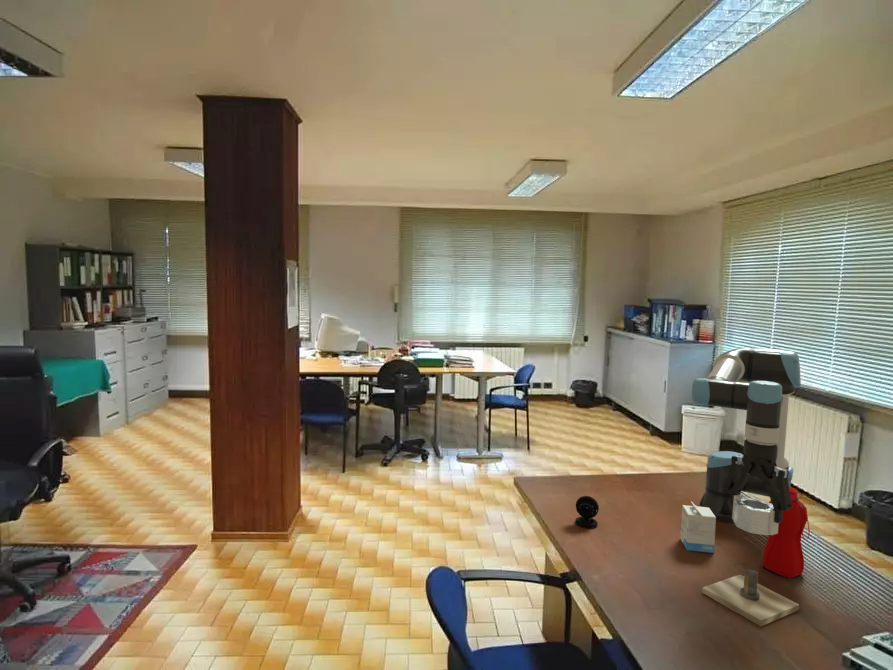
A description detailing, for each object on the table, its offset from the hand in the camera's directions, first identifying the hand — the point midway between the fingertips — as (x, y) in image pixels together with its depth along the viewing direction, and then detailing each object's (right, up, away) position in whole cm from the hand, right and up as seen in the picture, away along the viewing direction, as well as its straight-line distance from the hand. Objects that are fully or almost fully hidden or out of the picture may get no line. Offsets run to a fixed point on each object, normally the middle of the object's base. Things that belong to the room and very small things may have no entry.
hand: (754, 526), depth 137 cm
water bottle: (+19, -20, +17) cm, 33 cm away
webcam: (-32, -16, +46) cm, 58 cm away
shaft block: (0, -20, +1) cm, 20 cm away
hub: (0, 0, 0) cm, 0 cm away
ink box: (0, -18, +32) cm, 37 cm away
